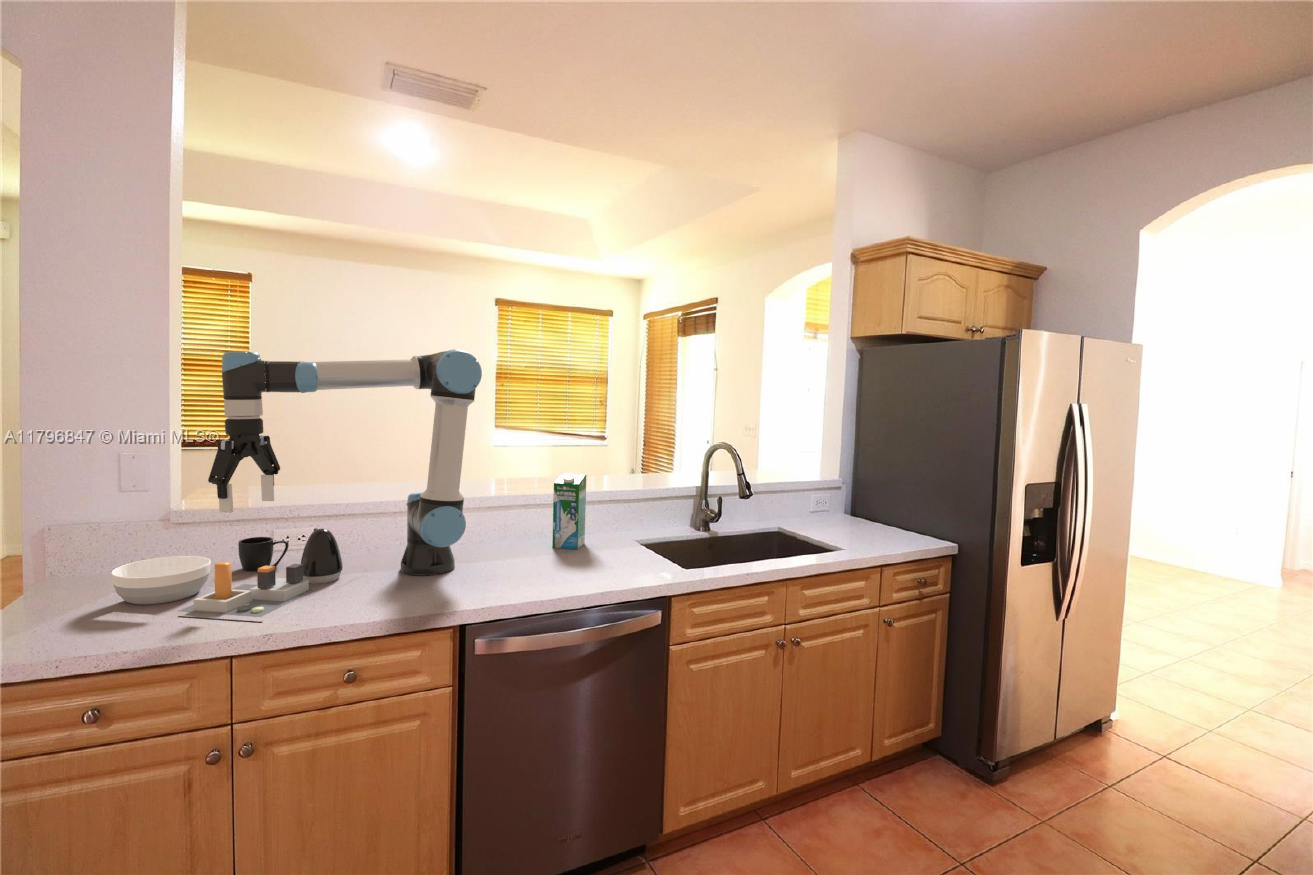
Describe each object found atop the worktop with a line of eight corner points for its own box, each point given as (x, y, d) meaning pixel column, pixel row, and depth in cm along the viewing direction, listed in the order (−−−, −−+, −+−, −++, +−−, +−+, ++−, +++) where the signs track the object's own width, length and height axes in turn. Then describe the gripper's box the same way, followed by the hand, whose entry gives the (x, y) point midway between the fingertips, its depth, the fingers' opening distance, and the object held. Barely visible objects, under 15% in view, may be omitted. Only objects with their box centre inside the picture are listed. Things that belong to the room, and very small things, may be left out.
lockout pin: (235, 603, 146) (234, 562, 146) (225, 608, 143) (224, 565, 142) (222, 602, 146) (221, 561, 146) (211, 607, 143) (211, 565, 143)
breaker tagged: (275, 585, 152) (275, 565, 152) (267, 588, 149) (266, 569, 149) (266, 584, 152) (265, 565, 152) (257, 588, 149) (257, 568, 149)
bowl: (158, 587, 160) (157, 554, 159) (229, 590, 160) (228, 557, 159) (89, 613, 141) (88, 575, 141) (169, 617, 141) (168, 579, 140)
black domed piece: (335, 575, 174) (335, 522, 173) (348, 584, 167) (347, 529, 166) (294, 582, 167) (294, 527, 166) (306, 592, 160) (305, 534, 159)
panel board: (316, 594, 159) (316, 579, 158) (260, 623, 139) (260, 605, 139) (243, 589, 160) (243, 574, 160) (178, 617, 141) (177, 600, 140)
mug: (284, 575, 173) (284, 542, 172) (234, 578, 169) (234, 544, 168) (291, 567, 181) (291, 535, 180) (244, 570, 177) (243, 537, 176)
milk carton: (552, 547, 213) (553, 476, 211) (560, 541, 222) (562, 472, 220) (577, 549, 212) (579, 477, 210) (584, 543, 220) (586, 474, 219)
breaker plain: (303, 579, 157) (303, 564, 156) (295, 583, 154) (295, 567, 153) (294, 579, 157) (294, 563, 157) (286, 582, 154) (286, 567, 154)
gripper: (265, 414, 158) (269, 496, 160) (184, 420, 133) (190, 517, 135) (293, 415, 158) (297, 496, 159) (217, 421, 133) (222, 518, 135)
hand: (248, 506), depth 147 cm, fingers open, 13 cm apart
